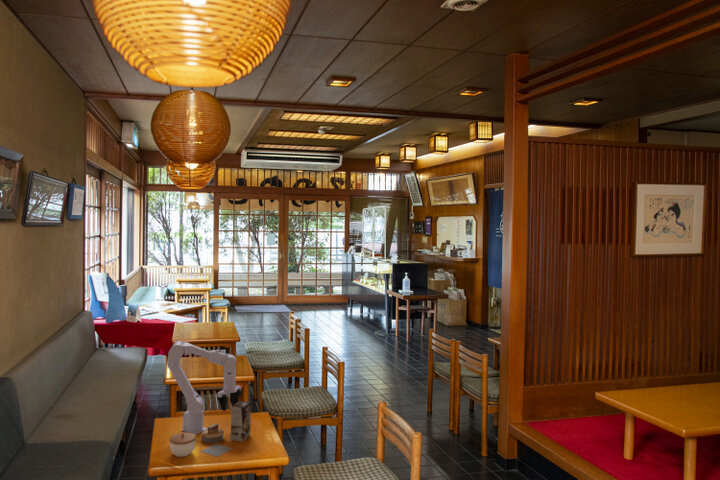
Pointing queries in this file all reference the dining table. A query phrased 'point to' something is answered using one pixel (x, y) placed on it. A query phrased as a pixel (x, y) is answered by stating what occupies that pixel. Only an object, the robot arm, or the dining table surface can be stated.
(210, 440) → the bowl
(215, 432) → the lid
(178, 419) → the dining table surface
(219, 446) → the mat
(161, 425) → the dining table surface
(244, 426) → the coffee box
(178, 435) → the lidded jar
